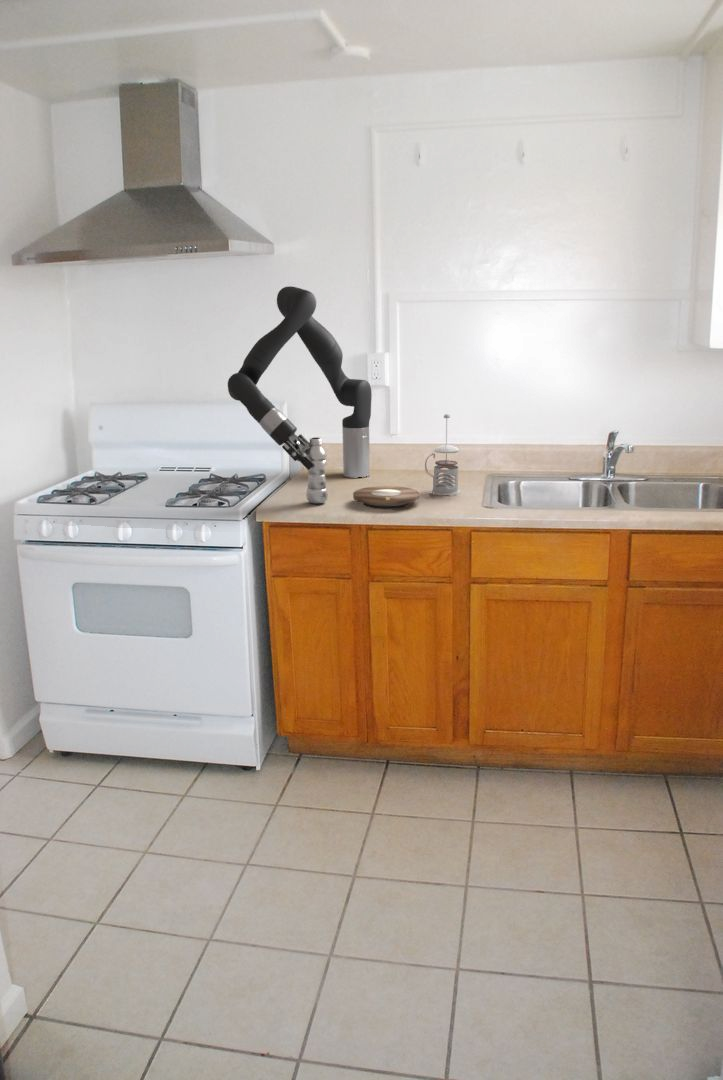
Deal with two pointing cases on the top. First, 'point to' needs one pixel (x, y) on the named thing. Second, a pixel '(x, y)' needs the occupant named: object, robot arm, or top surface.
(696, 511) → the top surface
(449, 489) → the french press
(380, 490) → the turntable platter
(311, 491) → the plastic bottle
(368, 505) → the turntable base
